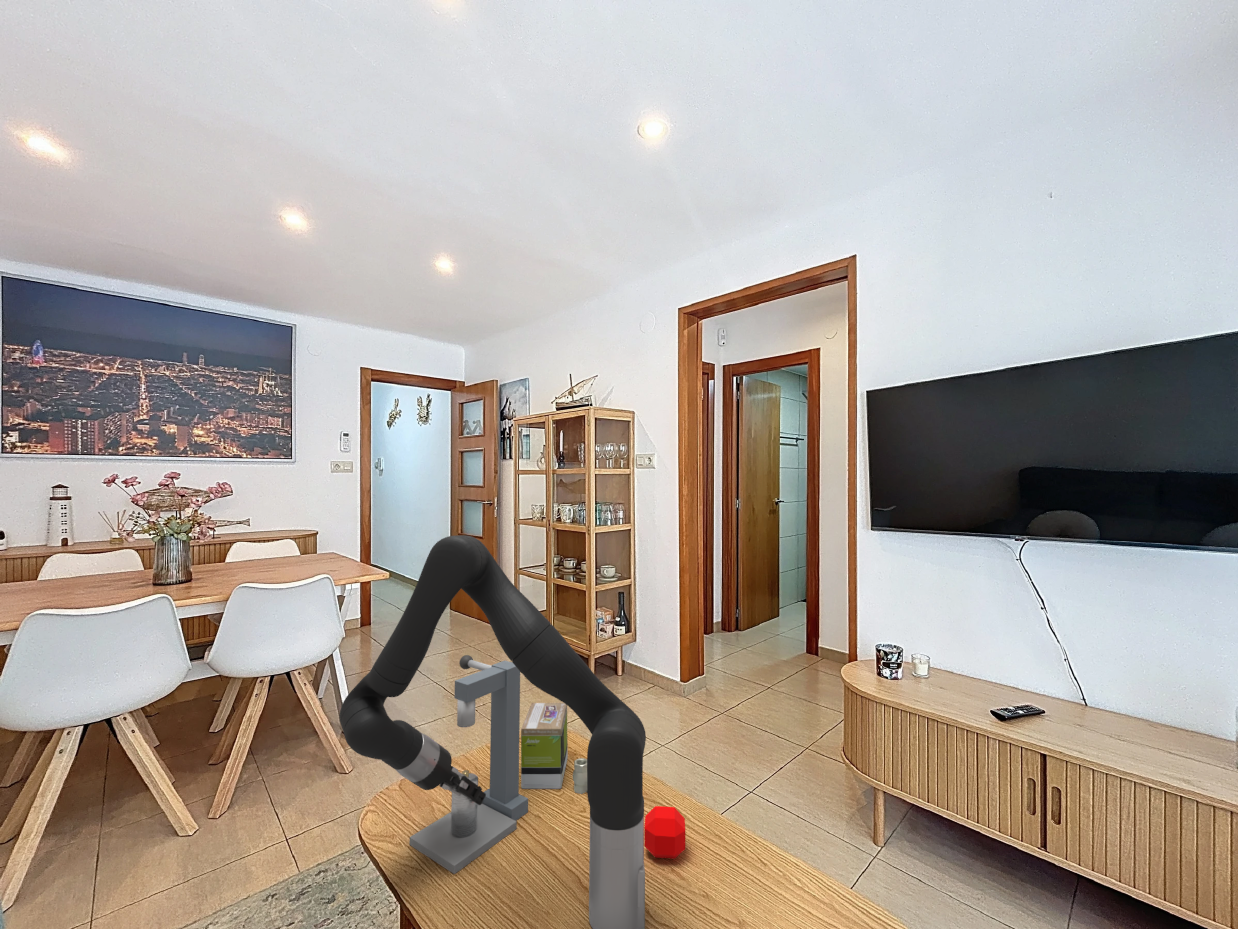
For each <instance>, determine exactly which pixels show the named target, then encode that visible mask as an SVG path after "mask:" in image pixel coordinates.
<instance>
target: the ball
mask: <svg viewBox="0 0 1238 929" xmlns="http://www.w3.org/2000/svg"><path fill="white" fill-rule="evenodd" d="M686 831H687V830H686V818H685V817H684V816H683V815H682V814H681V812H680V811H679V810H678V809H677V808H676V807H675V806H661V805H659V806H658V805H655V806H654V807H653V808H651V810H649V811H648V813H647V814H645V815H644V848H645V849H646V850H648V852H649V853H650V854H651V855H652V856H653V857H654V858H656V859H667V858H670V859H671V860H676V858H677V857H678V856H679V855H681V853H683V852H684V851H685V850H686V833H687V832H686ZM670 859H669V860H670Z"/></svg>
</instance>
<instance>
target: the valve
mask: <svg viewBox="0 0 1238 929" xmlns="http://www.w3.org/2000/svg"><path fill="white" fill-rule="evenodd" d="M573 762H574V764H573V765H574V766H573V768H574V769H573V772H572V781H573V790H574V793H576V794H581V795H584V794H585V792H586V793H587V758H584V757H580V758H577V759H575V760H574V761H573ZM583 793H584V794H583Z"/></svg>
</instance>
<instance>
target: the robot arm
mask: <svg viewBox="0 0 1238 929" xmlns="http://www.w3.org/2000/svg"><path fill="white" fill-rule="evenodd" d="M460 591H463V592H464V593H466V594H467V595H468V597H470V598H471V599H472V601H473V602H475V604H476V605H477V606H478V607H479V608H480V610H481V611H482V612H483V614H484V615H485V617H486V618H487V620H488V623H489V624H490V626H491V629H492V631H493V633H494V635H495V638H496V639H497V641H498V643H499V645H500V647H501V649H502V651H503V653H505V655H506V656H507V658H508V659H509V660H510V662H512V663H513V664H514V665H515V666H516V667H517V668H518V670H519V671H520V674H522V676H523V677H524V678H525V679H526V680H527V681H528V682H530V683H531V684H532V685H533V686H535V688H538V689H539V690H540V691H542V692H544V693H546V694H548V695H550V696H551V697H553V698H555V699H557V700H558V701H560V702H561V703H565V704H566V705H567V707H569V708H570V709H571V710H572V711H573V713H574V714H576V716H578V718H579V719H580V720H581V722H582V723H583V725H585V727H586V728H587V729H588V731H589V732H590V733H591V736H590V739H589V742H588V746H587V751H586V752H587V755H586V756H587V757H586V759H587V792H586V793H587V802H588V806H589V854H588V855H589V864H588V865H589V866H588V867H589V868H588V869H589V870H588V871H589V873H588V874H589V875H588V878H589V881H588V922H589V925H590V926H591V929H646V918H645V917H646V913H645V912H646V869H645V846H644V834H645V799H644V794H643V791H644V790H643V785H644V782H643V778H644V777H643V775H644V774H643V772H644V769H643V768H644V766H643V764H644V762H643V761H644V752H645V747H646V741H647V740H646V739H647V736H646V730H645V727H644V723H643V721H642V720H641V718H640V717H639V716H638V715H637V714H636V713H635V712H634V711H633V710H632V709H631V708H630V707H629V706H628V705H627V704H626V703H625V702H624V701H623V700H621V699H620V698H619V697H618V696H617V695H616V694H615V693H613V691H611V689H609V688H608V687H607V686H606V685H605V683H603V681H601V680H600V679H599V678H598V677H597V675H596V674H595V673H594V672H593V670H591V668H590V667H589V666H588V665H587V663H586V662H585V661H584V660H583V658H582V657H580V655H579V654H578V653H577V652H576V651H575V649H574V648H573V647H572V646H571V645H570V644H569V643H568V641H567V640H566V639H565V638H564V636H563V635H562V634H561V633H560V632H559V631H558V629H557V628H555V626H554V625H553V624H552V623H551V621H549V620H548V619H547V617H545V615H543V614H542V612H541V611H540V610H539V609H538V608H537V607H536V606H535V605H534V604H533V603H532V602H531V601H530V600H529V598H527V597H526V596H525V595H524V594H523V593H522V592H521V591H520V590H519V589H518V588H517V587H516V586H515V585H514V583H512V581H511V580H510V578H509V577H507V575H506V573H505V572H504V571H503V569H502V568H501V566H500V565H499V564H498V563H497V561H496V560H495V558H494V557H493V555H492V554H491V552H490V551H489V549H488V548H487V546H486V545H485V544H483V542H482V541H481V540H480V539H478V538H476V537H474V536H471V535H465V534H464V535H463V534H462V535H460V534H459V535H449V536H446V537H443V538H441V539H439V540H438V541H437V542H436V543H434V545H433V546H432V548H431V549H430V551H429V552H428V554H427V558H426V560H425V562H424V564H423V567H422V569H421V573H420V574H419V577H418V581H417V583H416V585H415V588H414V590H413V592H412V594H411V597H410V599H409V601H408V604H407V605H406V608H405V609H404V612H403V613H402V615H401V618H400V619H399V620H398V623H397V625H396V627H395V629H394V630H393V632H391V635H390V637H389V639H388V641H387V642H386V644H385V645H384V647H383V648H382V650H381V652H380V654H379V655H378V657H377V659H376V660H375V662H374V663H373V665H372V667H371V669H370V671H369V672H368V673H367V674H365V676H364V677H363V678H362V679H360V680H359V682H358V683H357V684H356V686H354V687H353V689H352V690H350V691H349V693H348V694H347V696H346V697H345V699H344V700H343V702H342V704H341V706H340V711H339V723H340V725H341V730H342V732H343V735H344V738H345V741H346V743H347V745H348V747H349V748H351V750H353V751H354V752H355V753H356V754H358V755H360V756H363V757H365V758H371V759H374V760H380V761H381V762H383V763H385V764H386V765H387V766H389V767H391V768H392V769H394V770H395V771H396V772H397V773H398V774H399V775H400V776H402V777H403V778H404V779H407V781H409V782H411V783H413V784H414V785H415V786H417V787H419V788H420V789H422V790H424V791H429V790H430V791H431V790H434V789H436V788H437V787H440V788H441V789H443V790H445V791H449V792H451V794H452V793H454V794H456V795H458V796H460V795H463V796H465V797H467V799H468V800H469V799H470V800H471V801H473V802H475V803H476V804H478V805H481V804H482V802H483V800H484V798H485V796H486V794H485V793H484V791H482V790H483V788H482V786H480V785H479V784H478V785H476V784H475V783H473V782H472V781H471V780H469V778H468V777H467V776H465V775H463V774H462V772H460V771H459V769H458V768H457V767H456V766H455V767H454V766H453V765H452V763H453V762H452V754H451V753H450V751H449V750H447V749H446V748H445V747H443V746H442V745H441V744H439V743H438V742H437V741H435V739H432V737H430V736H429V735H427V734H425V733H423V732H421V731H420V730H418V729H417V728H416V727H414V726H412V725H411V724H410V723H408V722H407V721H404V720H402V719H395V720H393V719H391V717H390V716H389V715H388V712H387V710H386V708H385V706H384V705H385V701H386V700H387V699H388V698H396V697H399V696H401V695H402V694H403V693H404V692H405V691H406V690H407V689H408V687H409V686H410V683H411V682H412V680H413V679H414V676H415V675H416V673H417V671H418V670H419V668H420V667H421V665H422V662H423V661H424V659H425V657H426V655H427V652H428V651H429V648H430V645H431V643H432V639H433V636H434V635H435V634H434V633H435V630H436V628H437V626H438V624H439V621H440V619H441V617H442V615H443V613H444V612H445V610H446V609H447V607H448V606H449V604H450V603H451V602H452V601H453V599H454V598H455V597H456V595H457V594H458V593H459V592H460ZM459 776H460V777H462V778H461V780H460V777H459ZM456 786H457V787H456ZM452 788H455V789H456V790H454V789H452Z"/></svg>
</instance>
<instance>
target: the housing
mask: <svg viewBox="0 0 1238 929" xmlns="http://www.w3.org/2000/svg"><path fill="white" fill-rule="evenodd" d="M461 773H462V774H463V775H465V776H467V777H468V778H469V780H471V781H472V782H473V783H475V784H476V785H478V786H479V776H478V774H475V773H471V772H470V770H468V769H465V770H463V771H462V772H461ZM459 777H460V776H459ZM461 778H462V777H460V780H461ZM456 787H457V786H456ZM452 789H454V790H456V789H455V788H452ZM477 807H478V804H476V803H475V802H473V801H471V800H470V799H469V800H468V799H467V797H465V796H463V795H460V796H458V795H456V794H454V793H452V792H451V808H450V810H451V811H450V812H451V834H452V835H453V836H454V837H457V838H464V837H468V836H470V835H472V834H473V833H475V831H476V830H477Z"/></svg>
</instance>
